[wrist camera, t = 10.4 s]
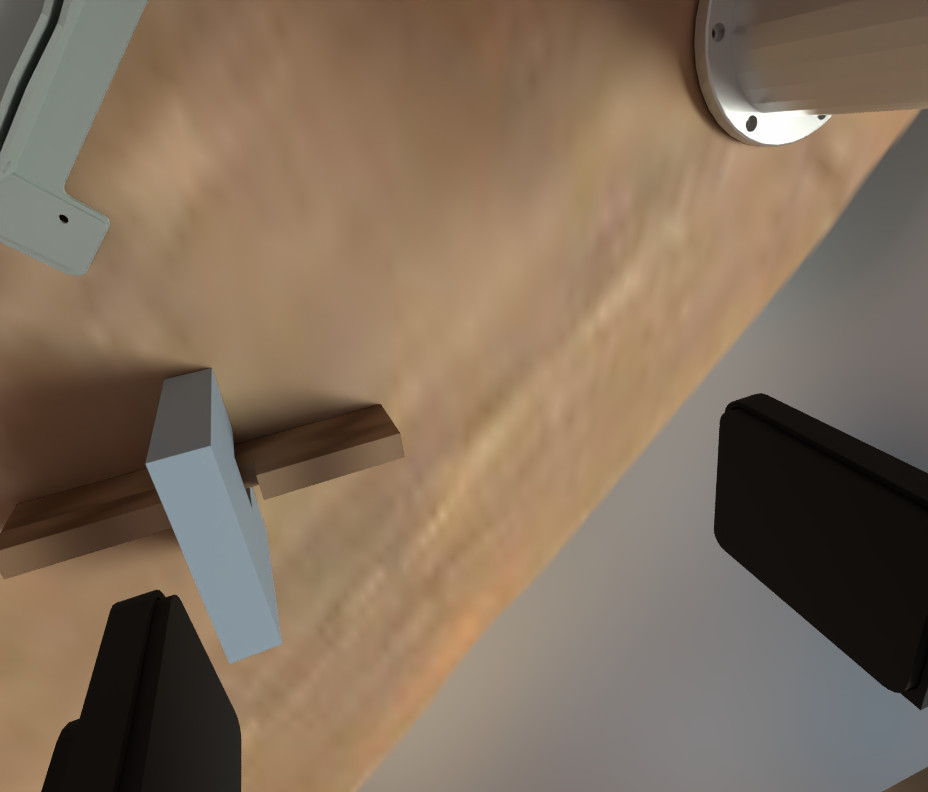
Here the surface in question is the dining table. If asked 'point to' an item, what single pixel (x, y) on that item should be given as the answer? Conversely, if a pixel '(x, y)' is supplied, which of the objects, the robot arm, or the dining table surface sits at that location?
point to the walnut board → (142, 513)
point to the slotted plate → (214, 513)
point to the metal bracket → (54, 119)
